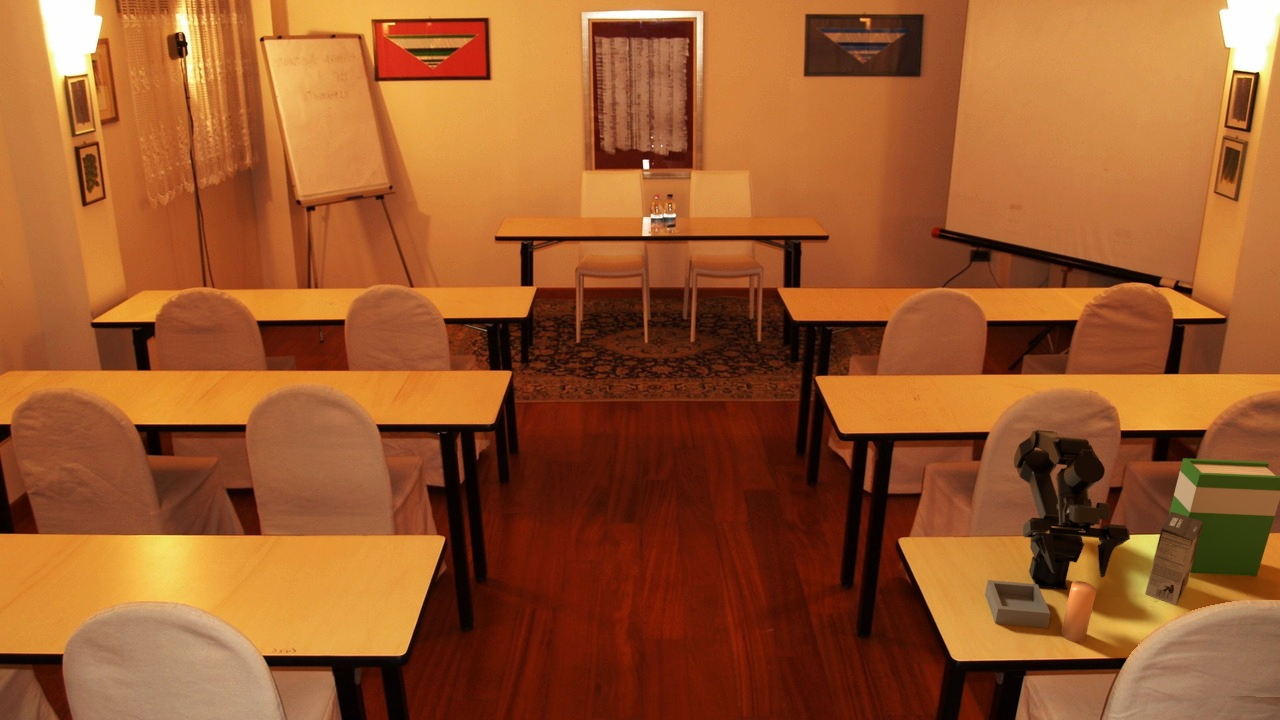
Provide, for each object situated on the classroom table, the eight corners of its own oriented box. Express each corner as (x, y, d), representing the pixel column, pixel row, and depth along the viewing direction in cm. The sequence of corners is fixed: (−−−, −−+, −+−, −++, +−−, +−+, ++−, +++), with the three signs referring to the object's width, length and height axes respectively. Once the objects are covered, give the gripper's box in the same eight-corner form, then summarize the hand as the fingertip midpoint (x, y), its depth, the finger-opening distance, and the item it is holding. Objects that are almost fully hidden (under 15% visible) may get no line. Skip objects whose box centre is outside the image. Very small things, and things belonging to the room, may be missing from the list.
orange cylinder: (1081, 629, 194) (1092, 582, 190) (1088, 643, 190) (1099, 595, 186) (1058, 627, 195) (1068, 580, 191) (1064, 641, 191) (1075, 593, 187)
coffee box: (1154, 575, 213) (1171, 510, 207) (1187, 587, 209) (1205, 520, 203) (1143, 594, 206) (1160, 527, 200) (1177, 606, 202) (1195, 538, 196)
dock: (1034, 598, 204) (1037, 584, 202) (1047, 628, 194) (1050, 613, 193) (985, 594, 205) (987, 579, 203) (995, 623, 195) (998, 608, 194)
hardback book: (1239, 557, 220) (1266, 461, 212) (1256, 576, 214) (1286, 478, 205) (1159, 553, 221) (1183, 458, 212) (1174, 572, 214) (1199, 474, 205)
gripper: (1036, 481, 191) (1040, 561, 185) (1137, 490, 189) (1144, 570, 183) (1020, 497, 202) (1024, 573, 196) (1116, 505, 199) (1122, 582, 193)
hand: (1078, 574), depth 192 cm, fingers open, 9 cm apart
